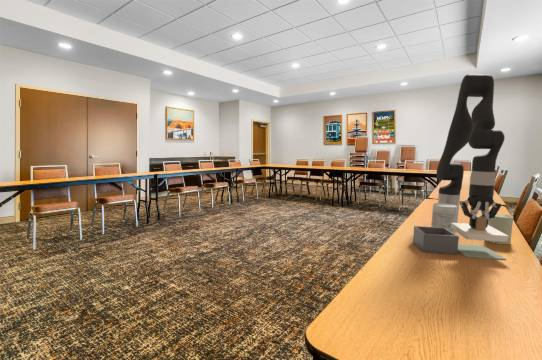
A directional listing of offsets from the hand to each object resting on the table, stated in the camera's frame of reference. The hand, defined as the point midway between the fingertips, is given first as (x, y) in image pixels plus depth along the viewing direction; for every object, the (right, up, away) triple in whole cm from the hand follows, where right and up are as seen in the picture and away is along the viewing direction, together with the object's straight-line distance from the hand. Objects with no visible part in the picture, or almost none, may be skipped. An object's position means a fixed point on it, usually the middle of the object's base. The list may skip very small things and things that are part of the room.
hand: (477, 227), depth 108 cm
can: (+19, -9, +15) cm, 26 cm away
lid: (0, -3, 0) cm, 3 cm away
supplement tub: (-1, -8, +20) cm, 22 cm away
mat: (0, -9, +1) cm, 9 cm away
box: (-14, -9, +5) cm, 17 cm away
